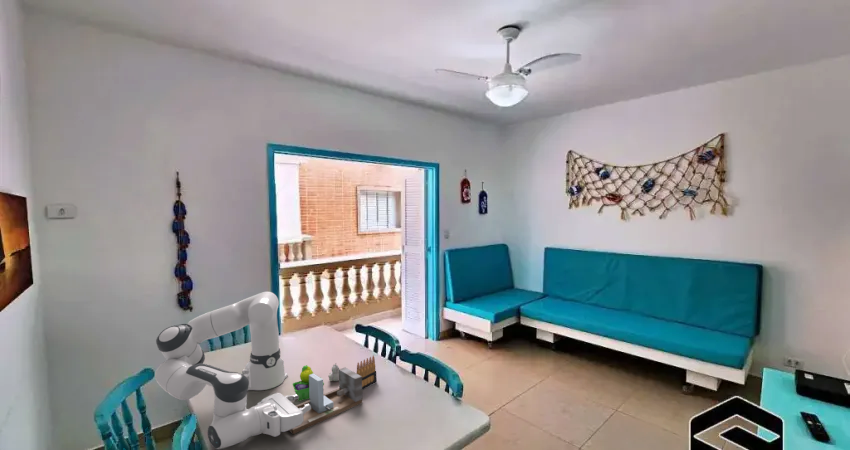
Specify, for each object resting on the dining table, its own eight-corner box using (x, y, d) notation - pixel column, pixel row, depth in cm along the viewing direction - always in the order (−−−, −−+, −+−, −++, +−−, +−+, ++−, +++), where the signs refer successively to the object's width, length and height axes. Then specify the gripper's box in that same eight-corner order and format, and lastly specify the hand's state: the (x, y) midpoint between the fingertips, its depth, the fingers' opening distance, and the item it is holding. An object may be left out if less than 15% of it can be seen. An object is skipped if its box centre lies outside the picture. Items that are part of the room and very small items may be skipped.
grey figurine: (344, 379, 163) (344, 361, 163) (333, 385, 158) (333, 367, 157) (335, 376, 166) (335, 359, 166) (324, 382, 160) (324, 364, 160)
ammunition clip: (358, 392, 152) (358, 363, 151) (355, 390, 153) (354, 362, 152) (376, 382, 160) (376, 355, 160) (373, 380, 161) (373, 354, 161)
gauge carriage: (309, 406, 138) (308, 375, 137) (324, 400, 142) (323, 370, 142) (322, 416, 131) (321, 383, 131) (337, 409, 135) (336, 378, 135)
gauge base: (278, 419, 132) (277, 391, 132) (345, 392, 152) (345, 367, 151) (293, 434, 124) (292, 403, 123) (362, 402, 143) (361, 376, 143)
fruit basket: (295, 403, 143) (294, 375, 143) (292, 393, 151) (291, 366, 151) (324, 396, 148) (324, 369, 148) (320, 387, 156) (319, 361, 156)
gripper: (253, 413, 130) (291, 399, 140) (277, 439, 116) (317, 421, 125) (253, 396, 130) (291, 383, 140) (276, 419, 115) (317, 403, 125)
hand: (303, 401), depth 132 cm, fingers open, 8 cm apart
